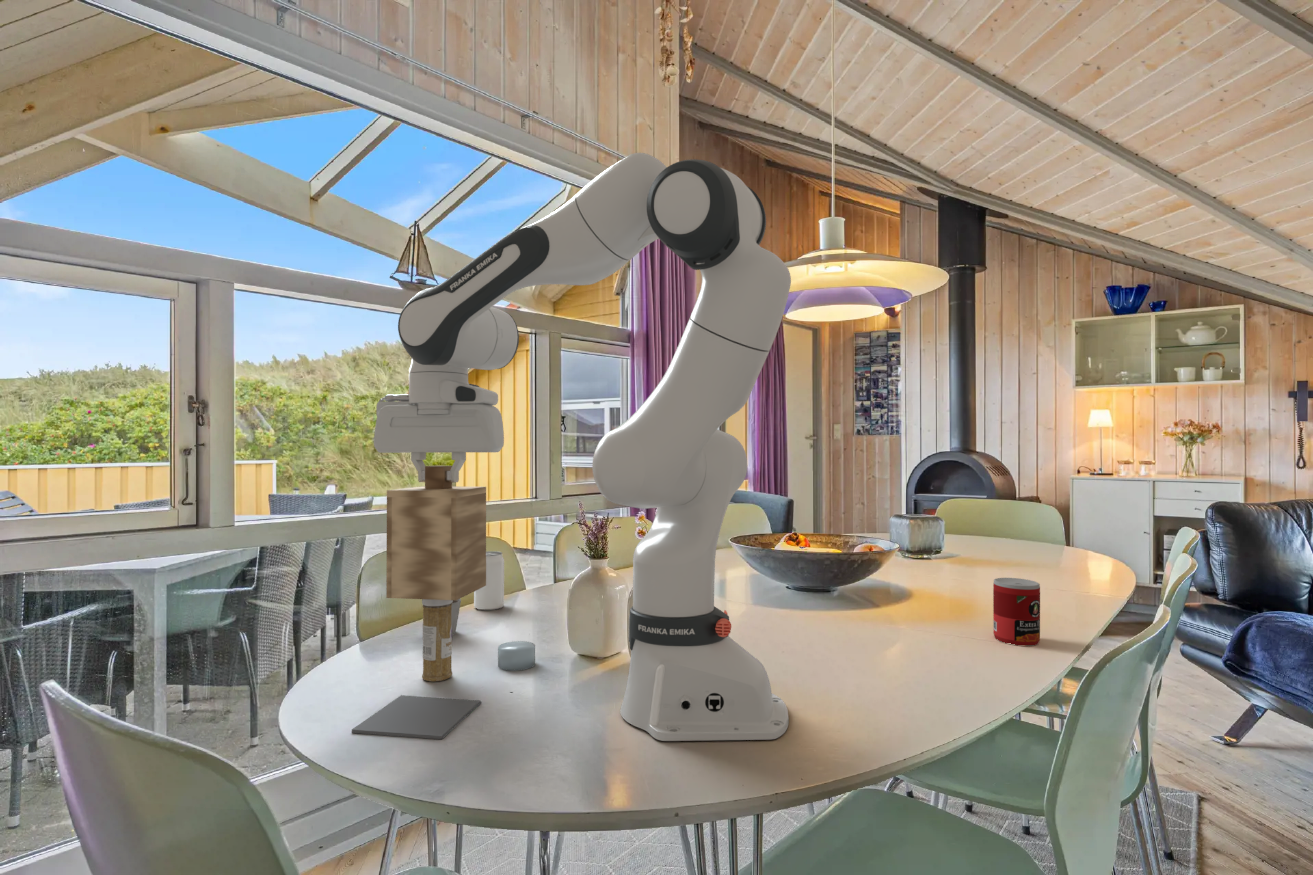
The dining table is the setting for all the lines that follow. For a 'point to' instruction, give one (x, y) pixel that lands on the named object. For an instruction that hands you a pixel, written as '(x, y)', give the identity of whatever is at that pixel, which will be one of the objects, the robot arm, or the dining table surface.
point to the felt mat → (418, 717)
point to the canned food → (1016, 611)
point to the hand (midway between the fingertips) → (438, 482)
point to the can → (491, 584)
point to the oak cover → (436, 539)
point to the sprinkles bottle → (437, 639)
